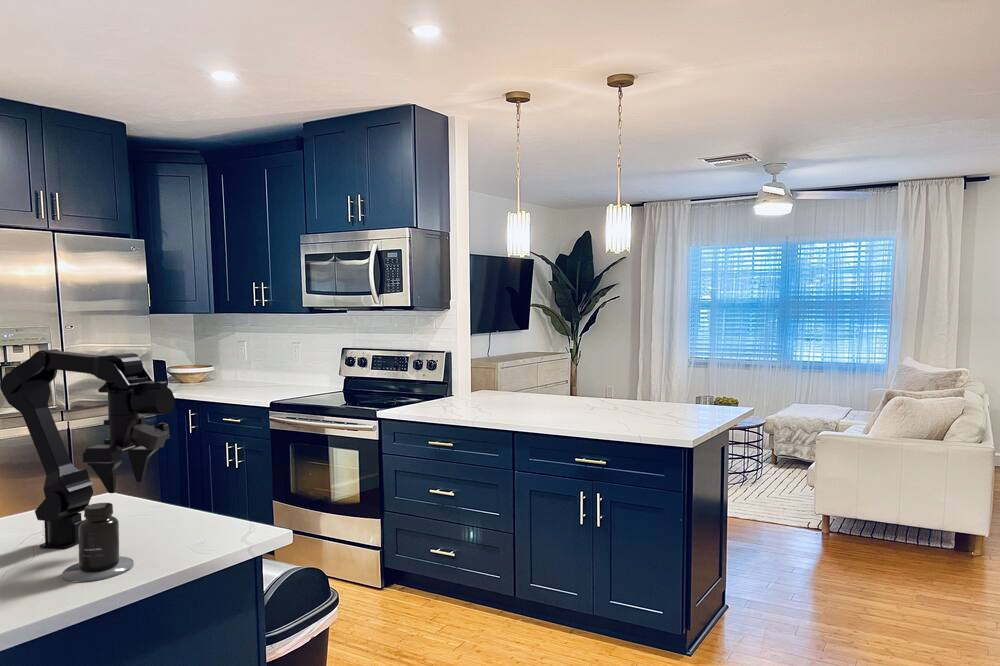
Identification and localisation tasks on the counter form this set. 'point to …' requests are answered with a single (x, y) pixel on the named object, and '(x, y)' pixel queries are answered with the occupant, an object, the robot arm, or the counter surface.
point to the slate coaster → (77, 575)
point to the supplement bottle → (98, 538)
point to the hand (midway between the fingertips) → (126, 487)
